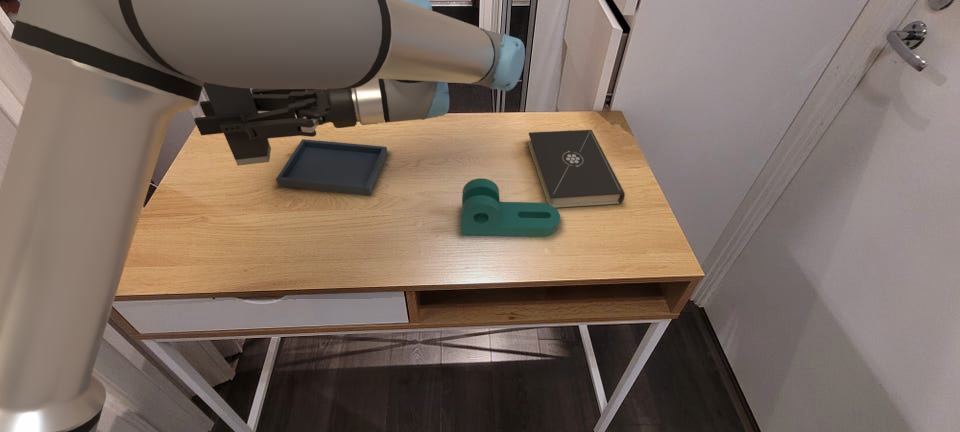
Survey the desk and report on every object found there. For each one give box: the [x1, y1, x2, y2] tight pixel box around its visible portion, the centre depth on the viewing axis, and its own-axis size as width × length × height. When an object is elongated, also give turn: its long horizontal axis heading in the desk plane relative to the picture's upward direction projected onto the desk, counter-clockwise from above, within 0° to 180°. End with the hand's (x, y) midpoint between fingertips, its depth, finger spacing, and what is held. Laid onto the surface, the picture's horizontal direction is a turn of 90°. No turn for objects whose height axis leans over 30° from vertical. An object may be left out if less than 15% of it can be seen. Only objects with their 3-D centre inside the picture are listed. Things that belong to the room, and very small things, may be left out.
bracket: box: [461, 177, 561, 238], centre depth 83 cm, size 18×7×8 cm, turn 90°
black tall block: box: [203, 82, 272, 166], centre depth 73 cm, size 5×4×15 cm
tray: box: [275, 138, 389, 196], centre depth 94 cm, size 19×14×2 cm
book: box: [526, 129, 626, 209], centre depth 96 cm, size 22×15×3 cm
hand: (201, 118), depth 71 cm, fingers closed on black tall block, 4 cm apart
